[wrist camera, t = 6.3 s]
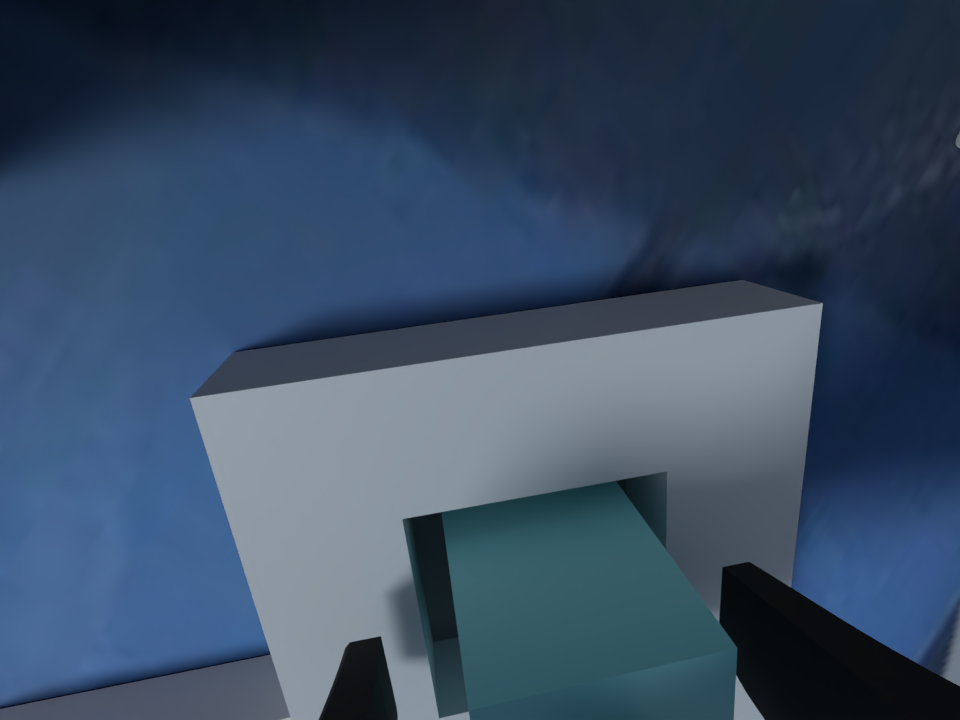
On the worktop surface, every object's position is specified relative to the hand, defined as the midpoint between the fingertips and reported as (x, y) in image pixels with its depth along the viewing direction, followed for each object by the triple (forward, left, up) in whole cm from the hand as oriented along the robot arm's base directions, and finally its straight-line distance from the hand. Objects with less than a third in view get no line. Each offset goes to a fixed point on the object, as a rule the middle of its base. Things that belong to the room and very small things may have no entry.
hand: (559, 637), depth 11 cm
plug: (0, 0, -3) cm, 3 cm away
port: (0, 0, -4) cm, 4 cm away
